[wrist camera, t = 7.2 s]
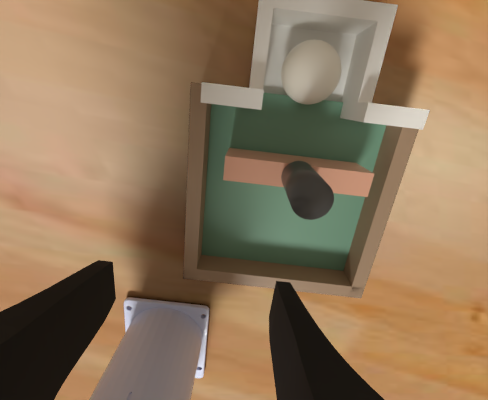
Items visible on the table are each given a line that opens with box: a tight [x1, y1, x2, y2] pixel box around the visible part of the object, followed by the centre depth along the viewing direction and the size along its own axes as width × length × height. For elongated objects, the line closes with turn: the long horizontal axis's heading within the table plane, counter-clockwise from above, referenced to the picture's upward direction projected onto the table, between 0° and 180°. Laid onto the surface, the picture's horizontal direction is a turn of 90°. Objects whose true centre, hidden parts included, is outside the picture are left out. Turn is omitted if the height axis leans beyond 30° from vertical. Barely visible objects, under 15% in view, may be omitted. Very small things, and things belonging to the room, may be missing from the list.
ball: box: [281, 39, 342, 105], centre depth 16 cm, size 4×4×4 cm
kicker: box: [223, 148, 374, 220], centre depth 15 cm, size 2×9×7 cm, turn 83°
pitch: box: [183, 0, 430, 298], centre depth 18 cm, size 19×14×5 cm
